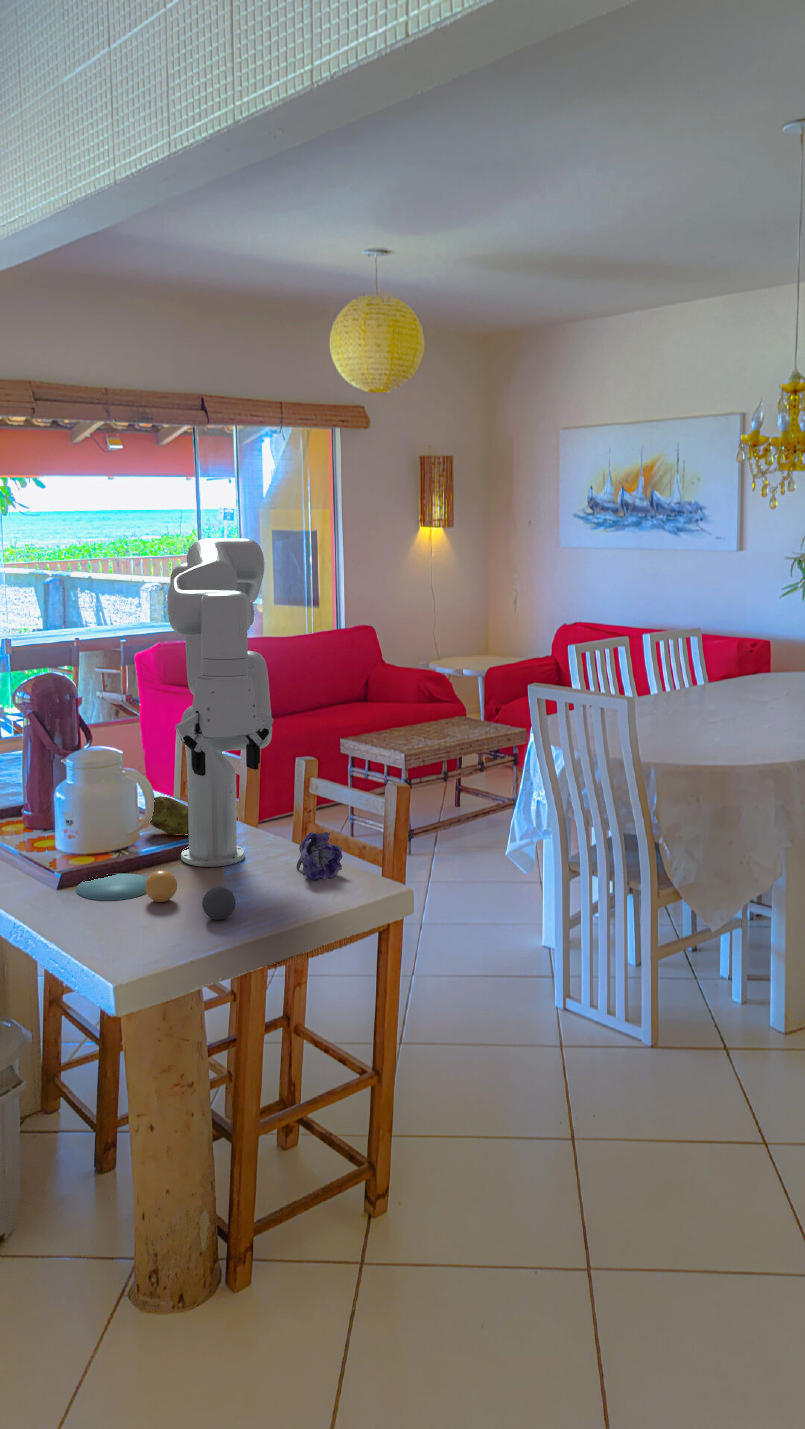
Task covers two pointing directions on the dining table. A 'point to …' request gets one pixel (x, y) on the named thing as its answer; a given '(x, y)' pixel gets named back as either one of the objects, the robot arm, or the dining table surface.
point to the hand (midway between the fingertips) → (226, 771)
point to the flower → (319, 856)
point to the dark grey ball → (218, 903)
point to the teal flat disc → (113, 887)
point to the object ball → (161, 886)
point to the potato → (170, 816)
